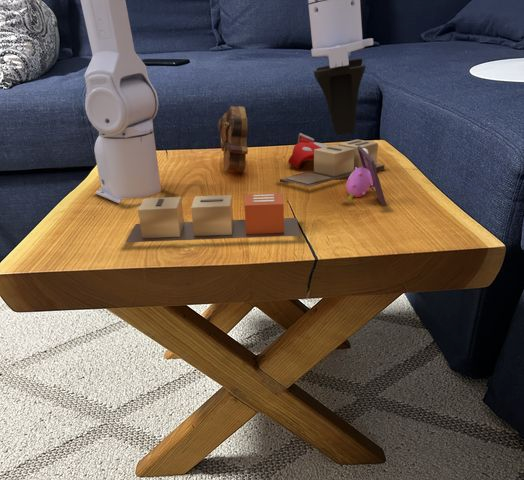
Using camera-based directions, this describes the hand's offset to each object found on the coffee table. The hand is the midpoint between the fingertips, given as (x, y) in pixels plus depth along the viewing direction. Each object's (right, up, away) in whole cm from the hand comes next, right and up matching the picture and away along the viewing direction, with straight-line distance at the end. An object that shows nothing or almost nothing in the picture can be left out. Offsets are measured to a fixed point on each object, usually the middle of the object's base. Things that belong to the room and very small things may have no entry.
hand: (344, 128), depth 69 cm
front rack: (-16, -14, -2) cm, 21 cm away
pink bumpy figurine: (+4, -7, +7) cm, 11 cm away
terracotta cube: (-10, -13, -3) cm, 16 cm away
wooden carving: (-15, +2, +24) cm, 29 cm away
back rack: (+1, 0, +19) cm, 19 cm away
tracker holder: (-1, +5, +28) cm, 28 cm away
